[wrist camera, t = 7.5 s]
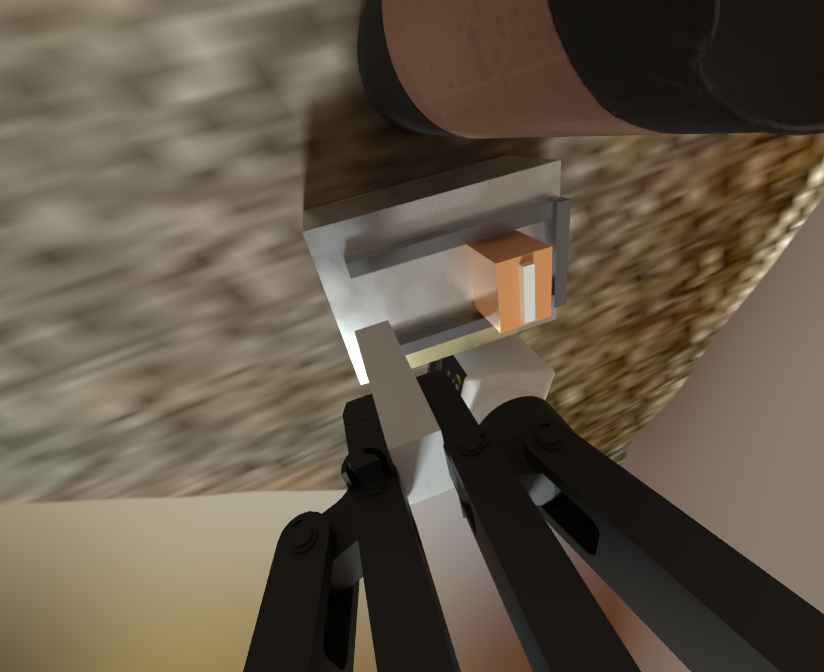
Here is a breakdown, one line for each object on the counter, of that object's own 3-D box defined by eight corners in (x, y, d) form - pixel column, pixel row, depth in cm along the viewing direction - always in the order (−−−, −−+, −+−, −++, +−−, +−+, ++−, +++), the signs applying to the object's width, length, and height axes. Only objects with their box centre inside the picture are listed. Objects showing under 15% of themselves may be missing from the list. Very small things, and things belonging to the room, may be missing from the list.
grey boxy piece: (303, 210, 22) (302, 238, 16) (505, 155, 23) (575, 161, 17) (350, 339, 27) (363, 396, 21) (512, 287, 29) (567, 327, 23)
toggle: (466, 244, 19) (499, 266, 16) (515, 229, 19) (557, 248, 16) (473, 306, 21) (504, 336, 18) (517, 292, 22) (555, 319, 18)
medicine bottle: (433, 328, 29) (503, 431, 19) (508, 326, 31) (608, 417, 21) (423, 395, 32) (477, 514, 22) (491, 389, 34) (569, 495, 24)
